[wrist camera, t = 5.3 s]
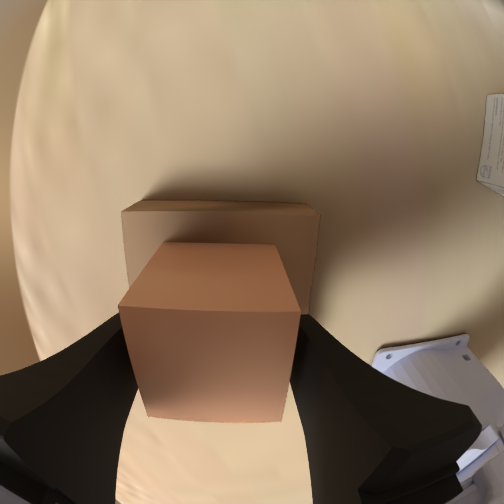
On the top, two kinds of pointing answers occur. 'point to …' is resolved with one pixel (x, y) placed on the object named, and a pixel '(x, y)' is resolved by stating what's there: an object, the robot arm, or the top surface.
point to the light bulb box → (493, 145)
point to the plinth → (226, 233)
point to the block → (212, 332)
